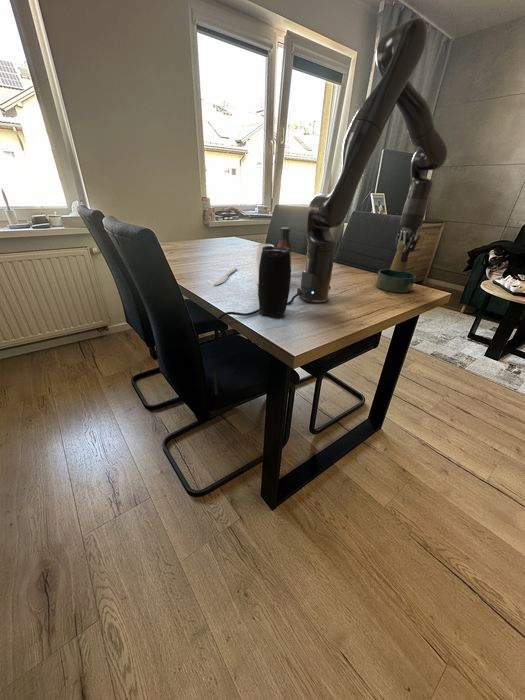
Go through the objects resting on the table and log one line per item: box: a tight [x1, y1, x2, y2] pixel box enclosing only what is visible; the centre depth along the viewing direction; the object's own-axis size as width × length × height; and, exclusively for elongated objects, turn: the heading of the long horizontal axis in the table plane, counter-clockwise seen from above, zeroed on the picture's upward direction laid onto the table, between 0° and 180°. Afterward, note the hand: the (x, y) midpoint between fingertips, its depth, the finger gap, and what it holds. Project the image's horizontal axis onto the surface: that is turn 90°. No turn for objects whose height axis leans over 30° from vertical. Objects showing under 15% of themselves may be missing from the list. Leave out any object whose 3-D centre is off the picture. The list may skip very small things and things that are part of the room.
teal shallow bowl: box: [375, 268, 417, 294], centre depth 115 cm, size 14×14×6 cm
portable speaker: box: [257, 246, 292, 319], centre depth 83 cm, size 9×9×20 cm
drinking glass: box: [255, 243, 275, 284], centre depth 111 cm, size 7×7×15 cm
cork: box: [389, 241, 409, 272], centre depth 110 cm, size 6×6×11 cm
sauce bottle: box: [276, 227, 293, 263], centre depth 121 cm, size 7×6×20 cm
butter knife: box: [214, 267, 237, 286], centre depth 121 cm, size 1×27×3 cm
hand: (400, 260), depth 111 cm, fingers closed on cork, 4 cm apart
